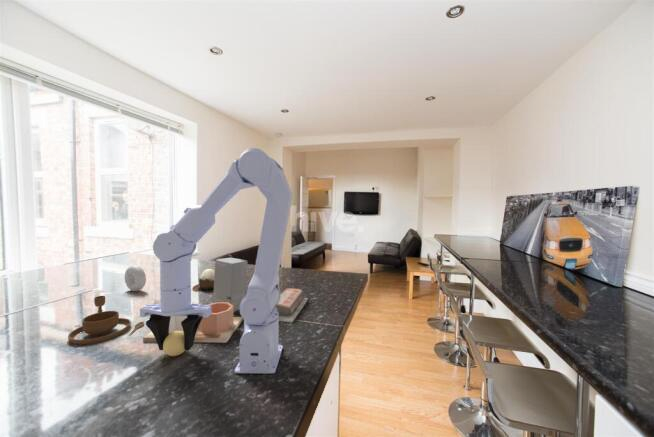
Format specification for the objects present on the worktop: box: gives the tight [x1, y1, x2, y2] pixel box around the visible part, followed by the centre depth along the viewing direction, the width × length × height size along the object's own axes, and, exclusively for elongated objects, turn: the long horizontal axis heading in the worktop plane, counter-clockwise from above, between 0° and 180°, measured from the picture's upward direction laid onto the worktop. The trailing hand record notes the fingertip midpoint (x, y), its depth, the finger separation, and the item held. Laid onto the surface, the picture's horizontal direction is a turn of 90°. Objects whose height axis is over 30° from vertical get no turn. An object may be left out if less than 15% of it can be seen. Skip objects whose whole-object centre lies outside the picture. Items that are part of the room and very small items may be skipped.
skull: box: [191, 268, 215, 293], centre depth 102 cm, size 12×10×10 cm
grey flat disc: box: [124, 264, 147, 292], centre depth 96 cm, size 10×4×10 cm, turn 66°
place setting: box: [67, 295, 145, 345], centre depth 68 cm, size 18×20×6 cm
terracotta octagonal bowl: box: [198, 302, 234, 334], centre depth 66 cm, size 8×8×5 cm
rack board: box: [142, 316, 244, 344], centre depth 66 cm, size 12×20×1 cm, turn 90°
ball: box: [162, 331, 186, 357], centre depth 55 cm, size 5×5×5 cm
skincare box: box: [212, 257, 248, 313], centre depth 81 cm, size 8×7×16 cm
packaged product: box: [276, 287, 309, 323], centre depth 81 cm, size 18×5×10 cm
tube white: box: [169, 301, 194, 334], centre depth 66 cm, size 8×8×5 cm
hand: (176, 347), depth 55 cm, fingers closed on ball, 5 cm apart
